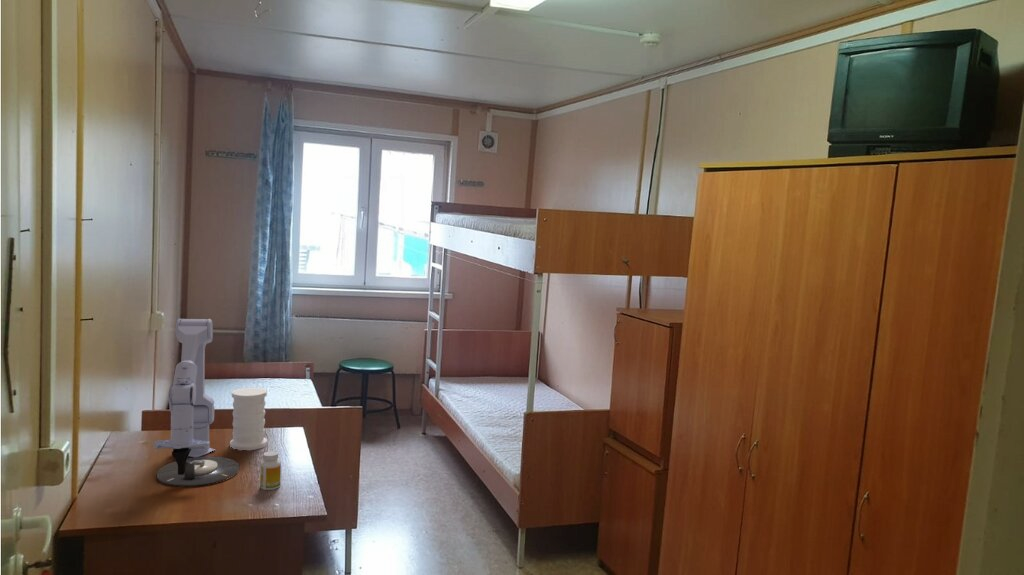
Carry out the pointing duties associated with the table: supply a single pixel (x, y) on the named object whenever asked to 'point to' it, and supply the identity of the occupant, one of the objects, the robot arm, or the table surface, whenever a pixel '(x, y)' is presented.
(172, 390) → the robot arm
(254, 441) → the decorative container
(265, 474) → the supplement bottle
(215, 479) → the dial plate
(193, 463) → the dial
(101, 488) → the table surface
